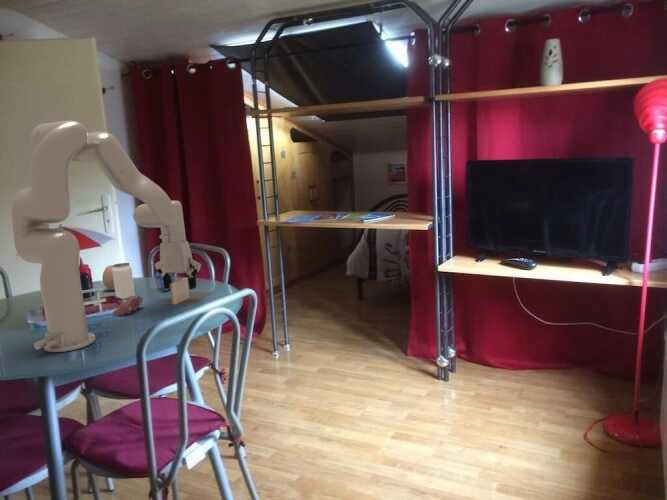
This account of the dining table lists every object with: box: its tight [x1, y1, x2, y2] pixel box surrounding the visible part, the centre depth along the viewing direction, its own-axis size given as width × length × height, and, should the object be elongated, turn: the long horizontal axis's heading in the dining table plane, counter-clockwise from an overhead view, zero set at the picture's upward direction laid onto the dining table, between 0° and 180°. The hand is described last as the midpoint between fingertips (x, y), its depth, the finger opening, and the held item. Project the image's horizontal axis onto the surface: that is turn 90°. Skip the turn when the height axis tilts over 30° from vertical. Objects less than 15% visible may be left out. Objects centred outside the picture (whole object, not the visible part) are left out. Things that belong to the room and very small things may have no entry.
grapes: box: [154, 271, 175, 292], centre depth 192 cm, size 12×7×12 cm, turn 1°
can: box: [112, 262, 136, 300], centre depth 186 cm, size 6×6×12 cm
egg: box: [102, 264, 115, 291], centre depth 198 cm, size 7×7×10 cm
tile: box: [169, 277, 190, 306], centre depth 175 cm, size 8×1×7 cm, turn 162°
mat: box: [158, 290, 215, 306], centre depth 179 cm, size 16×12×1 cm
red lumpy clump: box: [112, 294, 144, 317], centre depth 166 cm, size 10×5×7 cm, turn 169°
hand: (180, 288), depth 175 cm, fingers open, 9 cm apart
